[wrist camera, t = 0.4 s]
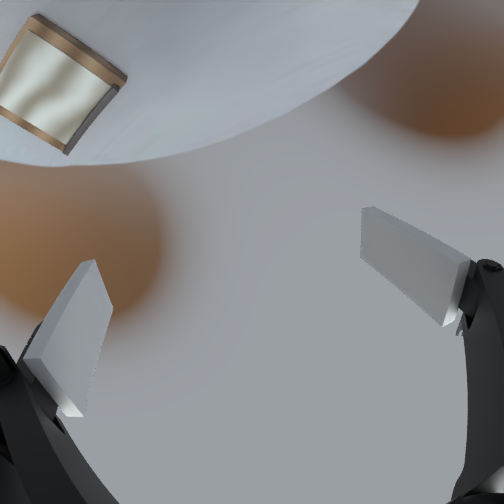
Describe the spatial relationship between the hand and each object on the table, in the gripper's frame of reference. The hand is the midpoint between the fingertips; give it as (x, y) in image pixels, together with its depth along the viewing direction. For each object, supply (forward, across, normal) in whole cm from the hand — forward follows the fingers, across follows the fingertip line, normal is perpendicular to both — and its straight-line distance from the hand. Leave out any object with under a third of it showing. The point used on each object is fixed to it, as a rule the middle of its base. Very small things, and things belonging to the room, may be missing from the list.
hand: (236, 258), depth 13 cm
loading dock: (+27, -20, +19) cm, 38 cm away
